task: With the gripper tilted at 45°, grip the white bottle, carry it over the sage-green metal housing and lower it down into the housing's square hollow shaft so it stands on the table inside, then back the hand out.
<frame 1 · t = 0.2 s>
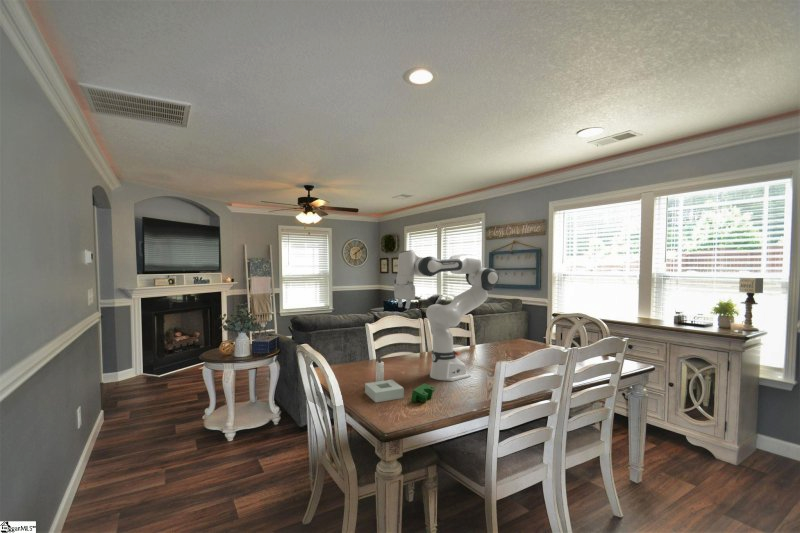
hand: (403, 307, 196), 39 cm above the table, tool pointing down, fingers open, 8 cm apart
housing: (384, 395, 178), on the table
white bottle: (379, 386, 191), on the table
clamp: (423, 400, 172), on the table
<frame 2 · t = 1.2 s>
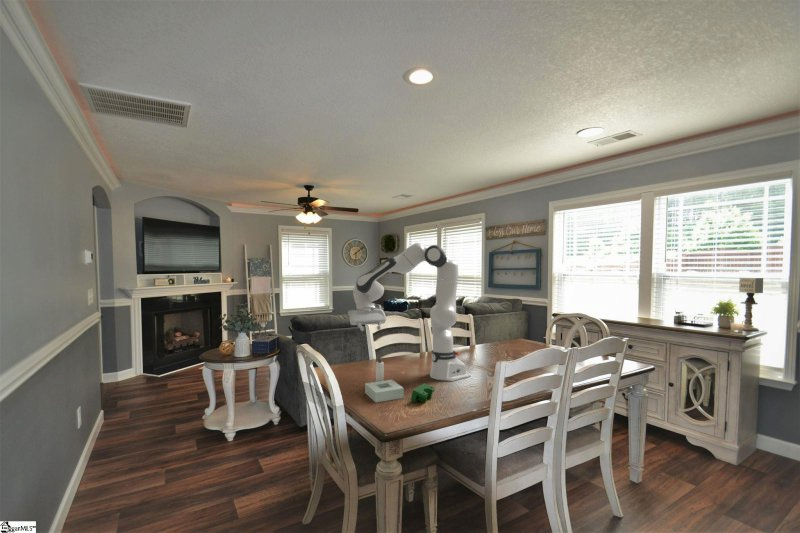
hand: (371, 329, 201), 27 cm above the table, tool tilted 45°, fingers open, 8 cm apart
nothing on the table moved.
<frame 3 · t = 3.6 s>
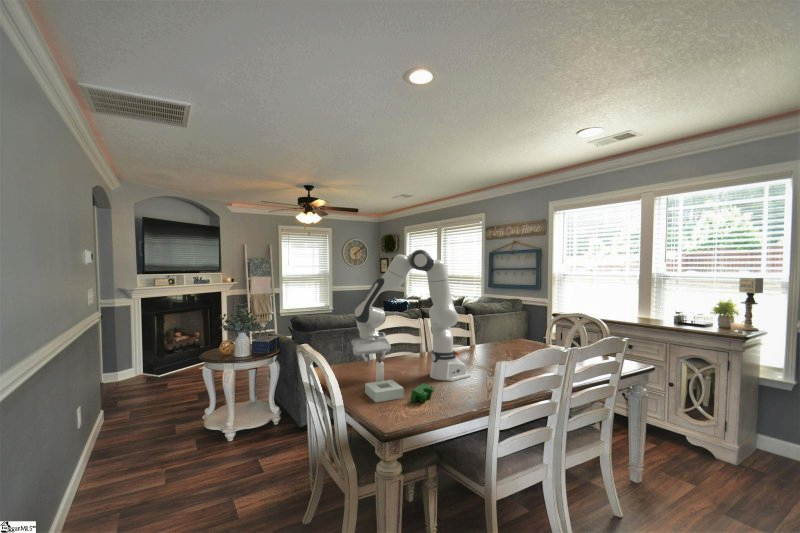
hand: (375, 360, 196), 12 cm above the table, tool tilted 45°, fingers open, 8 cm apart
nothing on the table moved.
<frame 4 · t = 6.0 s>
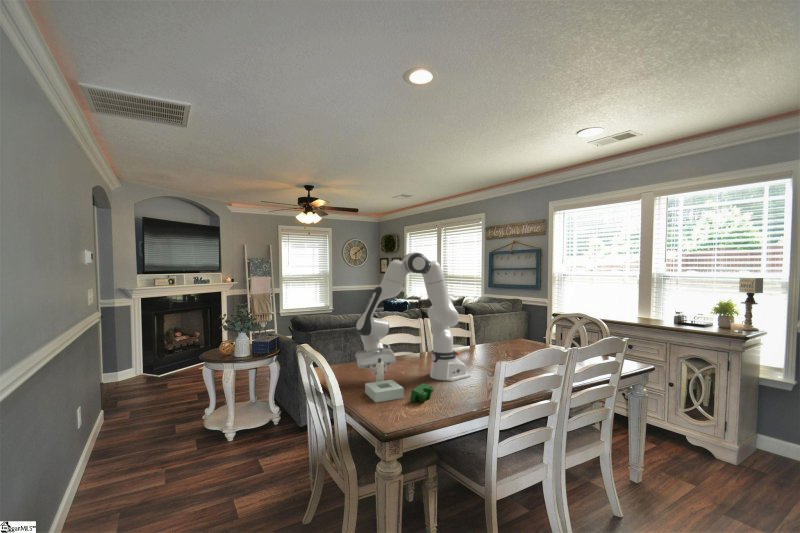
hand: (380, 373, 190), 7 cm above the table, tool tilted 45°, fingers closed on white bottle, 4 cm apart
white bottle: (379, 386, 191), on the table, touching gripper
everything else where it was.
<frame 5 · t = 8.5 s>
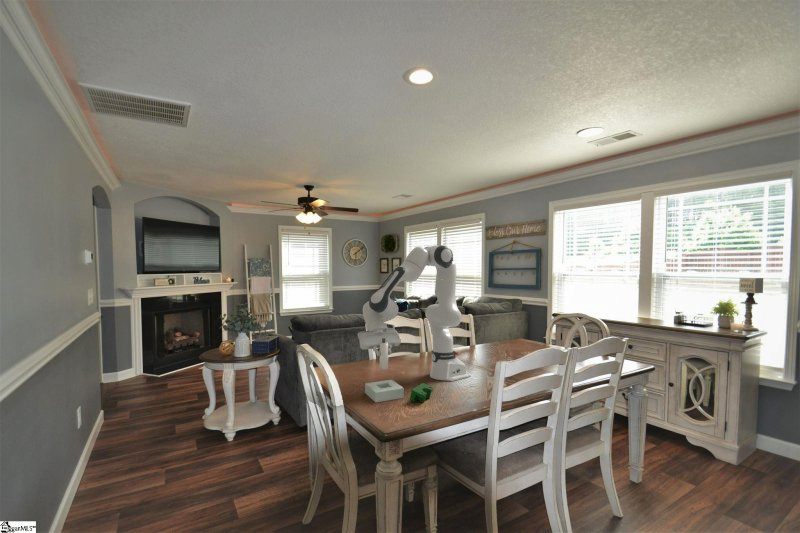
hand: (384, 354, 177), 19 cm above the table, tool tilted 45°, fingers closed on white bottle, 4 cm apart
white bottle: (383, 368, 178), point 13 cm above the table, touching gripper
everything else where it was.
when the fingers open (8 cm above the table, at t = 11.5 s): white bottle drops 1 cm, resting in housing.
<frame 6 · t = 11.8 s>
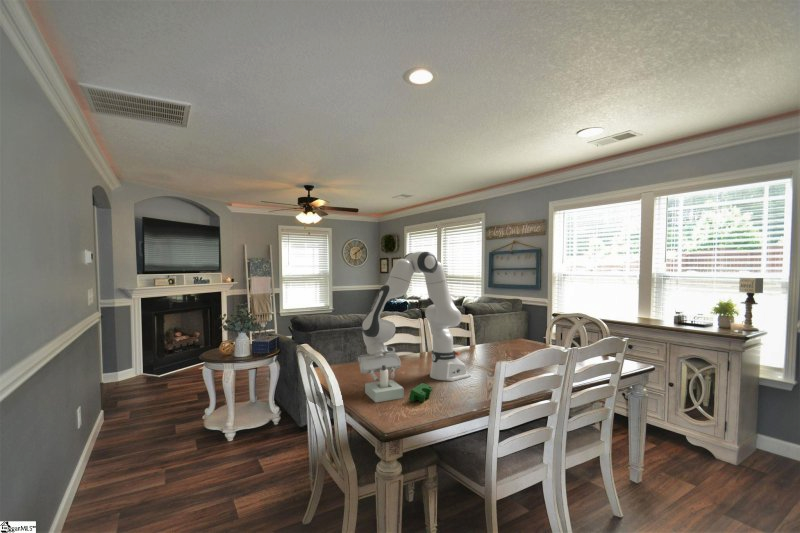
hand: (384, 378, 177), 8 cm above the table, tool tilted 45°, fingers open, 7 cm apart
white bottle: (384, 395, 178), resting in housing
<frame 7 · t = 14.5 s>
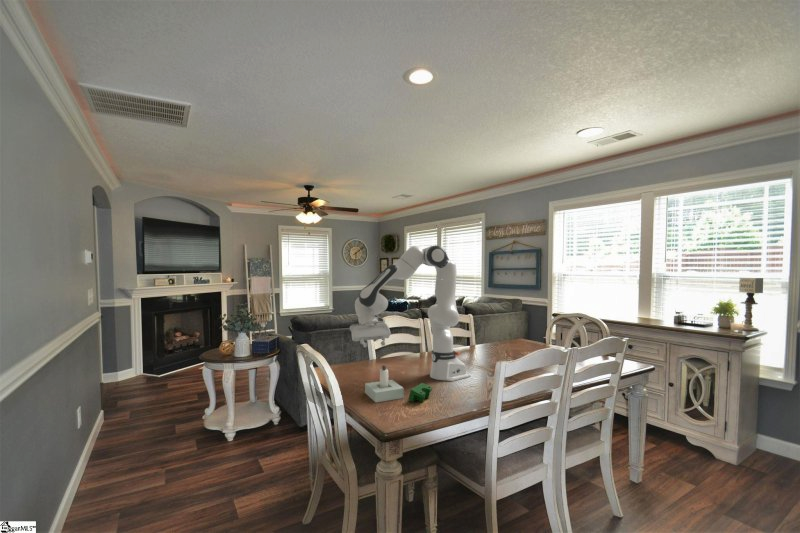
hand: (374, 345, 189), 21 cm above the table, tool tilted 45°, fingers open, 8 cm apart
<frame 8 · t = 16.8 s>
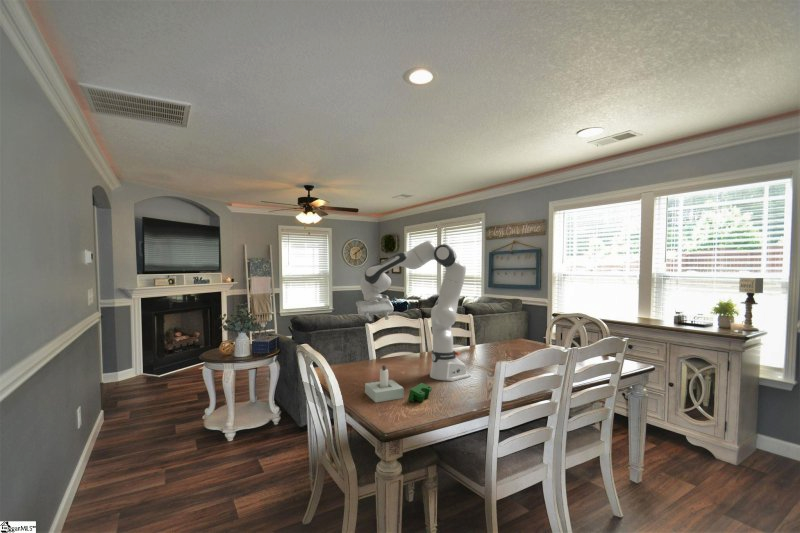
hand: (379, 319, 205), 31 cm above the table, tool tilted 45°, fingers open, 8 cm apart
at the end: white bottle 0.0 cm off-centre on the housing, point 0.0 cm above the housing's base; white bottle tilted 0°; the gripper is holding nothing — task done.
